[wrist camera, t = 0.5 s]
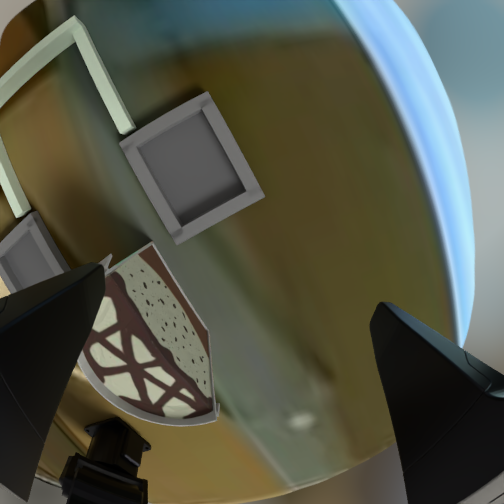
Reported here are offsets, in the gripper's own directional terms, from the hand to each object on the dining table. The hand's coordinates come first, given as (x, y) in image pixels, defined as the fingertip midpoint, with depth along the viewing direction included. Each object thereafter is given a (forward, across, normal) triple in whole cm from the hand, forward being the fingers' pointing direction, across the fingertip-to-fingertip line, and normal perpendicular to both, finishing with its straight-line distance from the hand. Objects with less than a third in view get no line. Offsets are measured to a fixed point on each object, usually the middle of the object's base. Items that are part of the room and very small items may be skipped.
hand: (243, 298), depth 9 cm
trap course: (+14, +15, -1) cm, 21 cm away
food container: (+13, +6, +11) cm, 18 cm away
